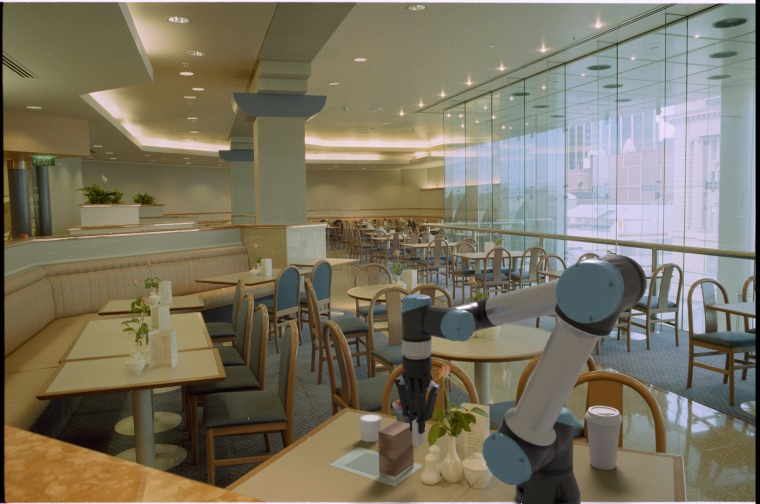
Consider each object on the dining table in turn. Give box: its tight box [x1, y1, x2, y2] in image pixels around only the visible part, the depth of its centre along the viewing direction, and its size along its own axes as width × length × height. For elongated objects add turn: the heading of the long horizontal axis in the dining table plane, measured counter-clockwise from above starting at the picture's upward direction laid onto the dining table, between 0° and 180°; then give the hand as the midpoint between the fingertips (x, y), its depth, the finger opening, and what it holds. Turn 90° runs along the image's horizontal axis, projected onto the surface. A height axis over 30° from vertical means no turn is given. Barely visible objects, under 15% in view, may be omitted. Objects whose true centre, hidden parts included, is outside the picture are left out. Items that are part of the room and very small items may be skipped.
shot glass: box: [358, 413, 382, 443], centre depth 180 cm, size 7×7×7 cm
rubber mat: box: [328, 446, 424, 487], centre depth 162 cm, size 22×14×1 cm, turn 54°
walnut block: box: [378, 420, 415, 481], centre depth 157 cm, size 5×9×12 cm, turn 144°
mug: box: [392, 399, 410, 424], centre depth 181 cm, size 12×9×11 cm
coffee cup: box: [584, 405, 623, 471], centre depth 160 cm, size 10×10×15 cm
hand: (417, 444), depth 153 cm, fingers closed
